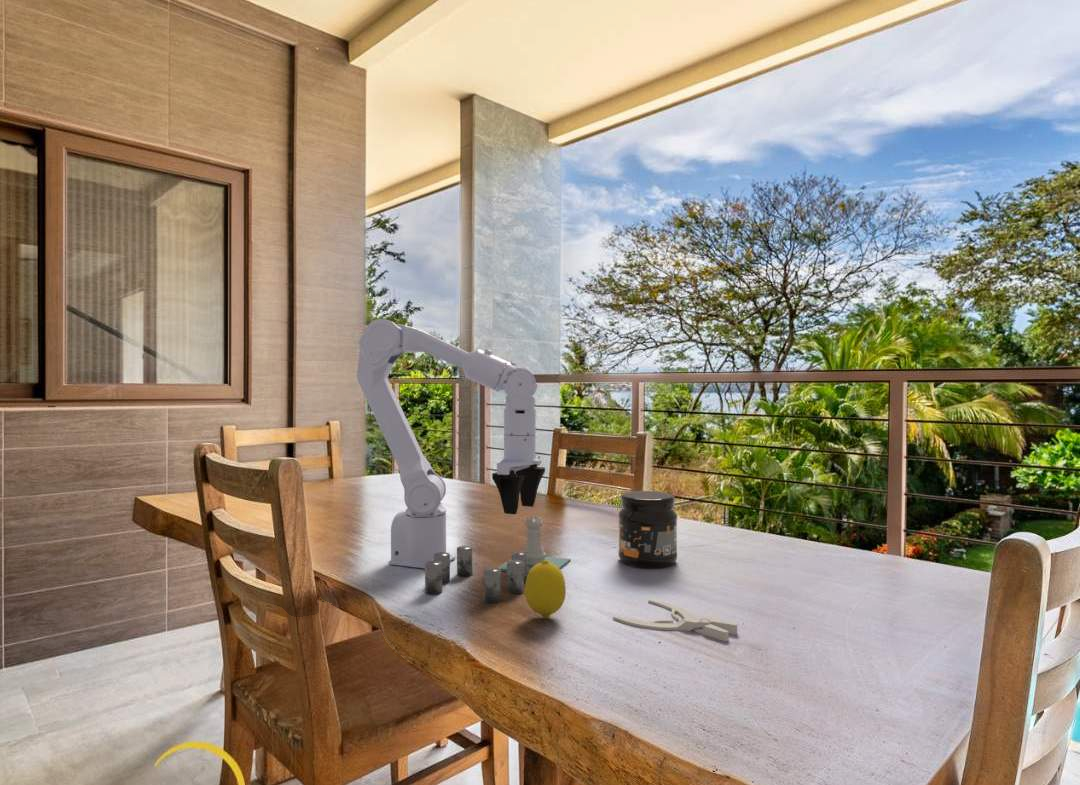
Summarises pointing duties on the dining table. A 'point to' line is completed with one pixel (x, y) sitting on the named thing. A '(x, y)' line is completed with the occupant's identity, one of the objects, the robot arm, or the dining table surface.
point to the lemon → (545, 588)
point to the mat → (556, 561)
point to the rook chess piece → (534, 542)
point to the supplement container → (647, 529)
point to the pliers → (686, 623)
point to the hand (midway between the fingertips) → (519, 509)
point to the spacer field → (440, 573)
